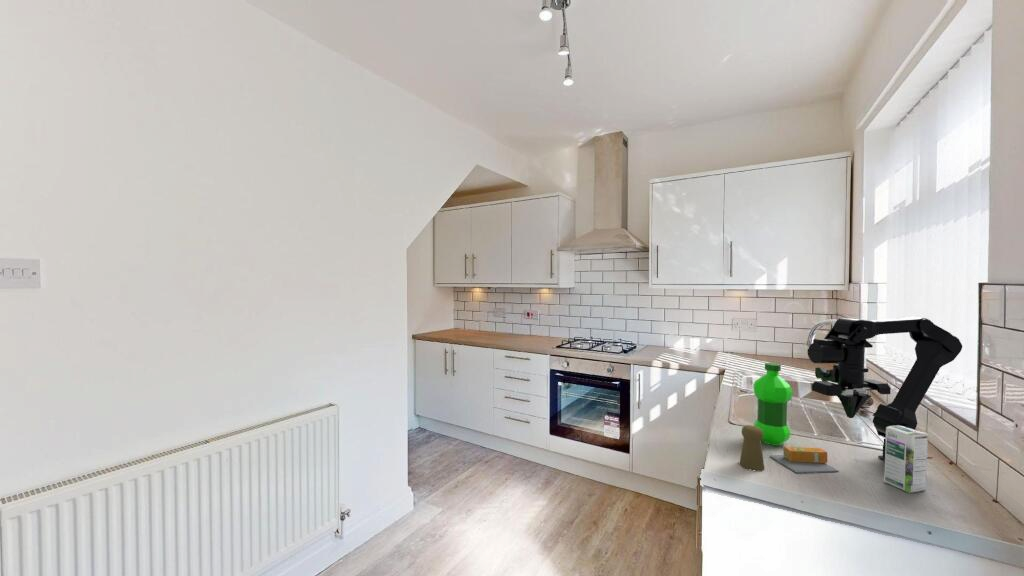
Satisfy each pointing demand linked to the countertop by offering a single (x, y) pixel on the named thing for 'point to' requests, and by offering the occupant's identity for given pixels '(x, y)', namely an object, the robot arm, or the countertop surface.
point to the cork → (752, 448)
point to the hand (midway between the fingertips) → (850, 417)
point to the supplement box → (805, 454)
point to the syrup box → (906, 458)
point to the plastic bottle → (772, 405)
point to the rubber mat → (803, 465)
